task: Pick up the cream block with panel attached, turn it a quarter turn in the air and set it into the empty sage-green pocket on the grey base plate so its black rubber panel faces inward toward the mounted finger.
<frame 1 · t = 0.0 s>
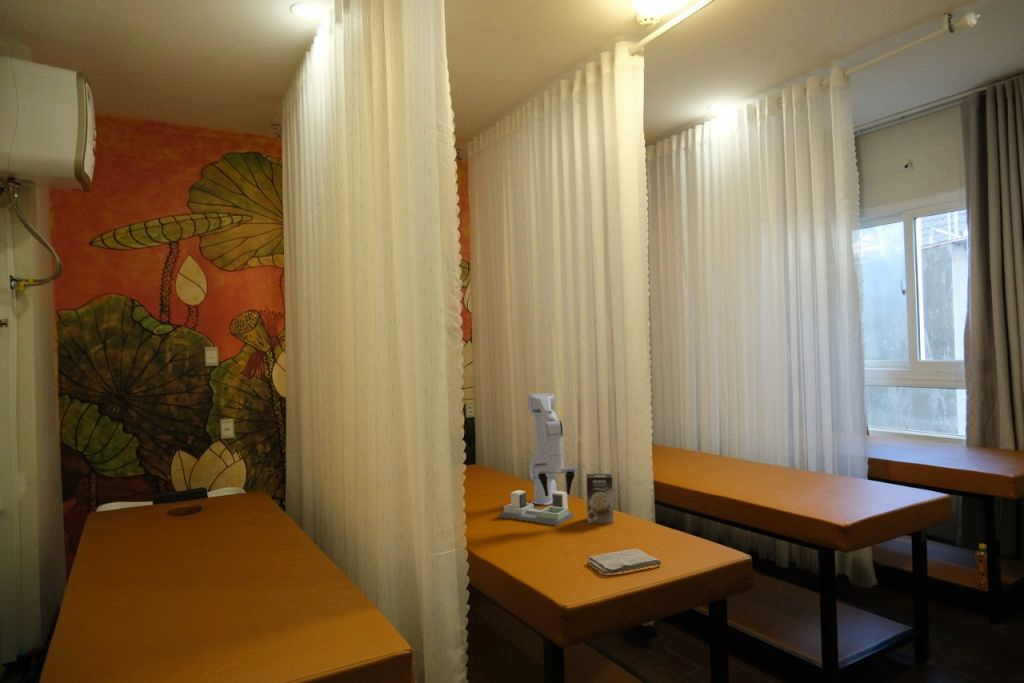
hand: (557, 495, 213), 11 cm above the table, tool pointing down, fingers open, 7 cm apart
grey base plate: (536, 517, 224), on the table
coffee box: (600, 521, 216), on the table
cream block with panel: (560, 510, 231), on the table
washcloth: (622, 567, 173), on the table
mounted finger: (518, 510, 228), resting on grey base plate
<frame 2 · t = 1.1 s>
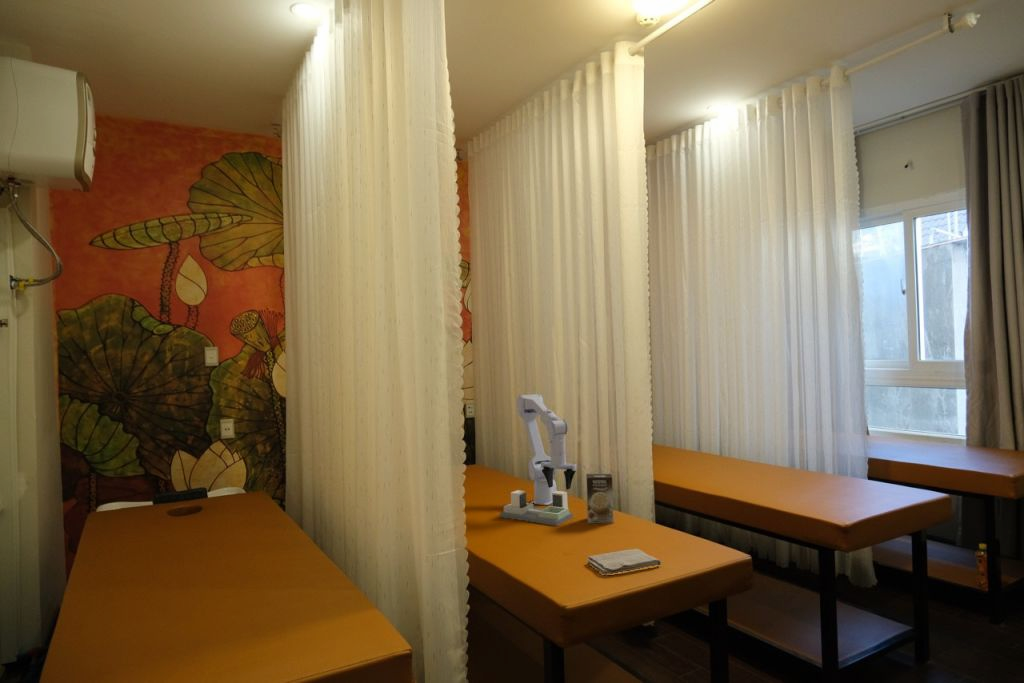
hand: (559, 488, 231), 9 cm above the table, tool pointing down, fingers open, 7 cm apart
nothing on the table moved.
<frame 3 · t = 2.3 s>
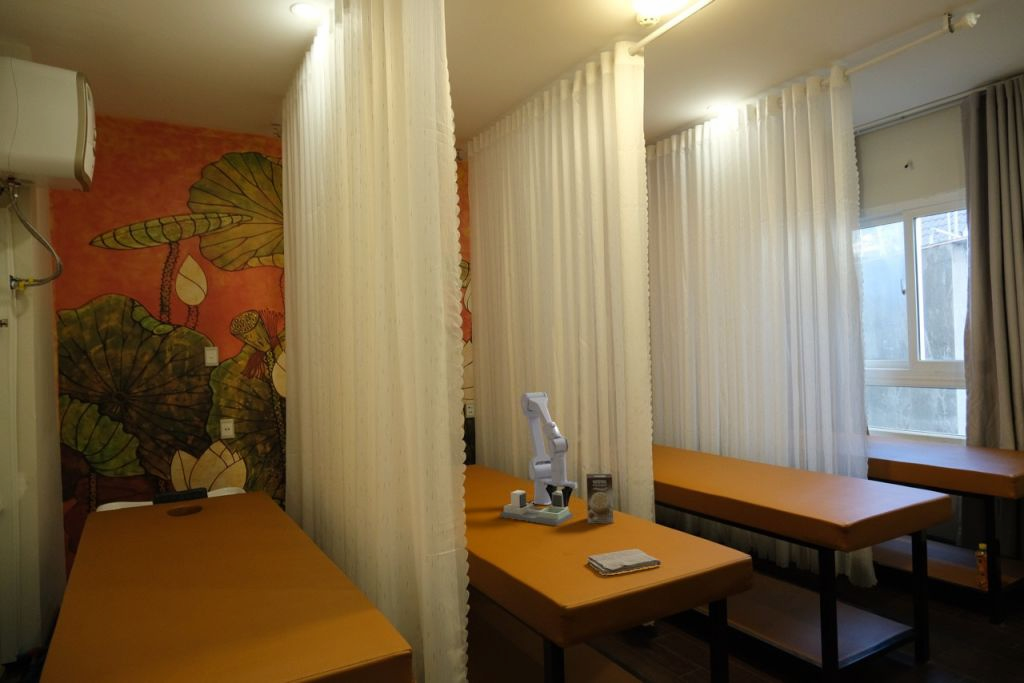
hand: (560, 505, 231), 2 cm above the table, tool pointing down, fingers closed on cream block with panel, 4 cm apart
cream block with panel: (560, 510, 231), on the table, touching gripper
everything else where it was.
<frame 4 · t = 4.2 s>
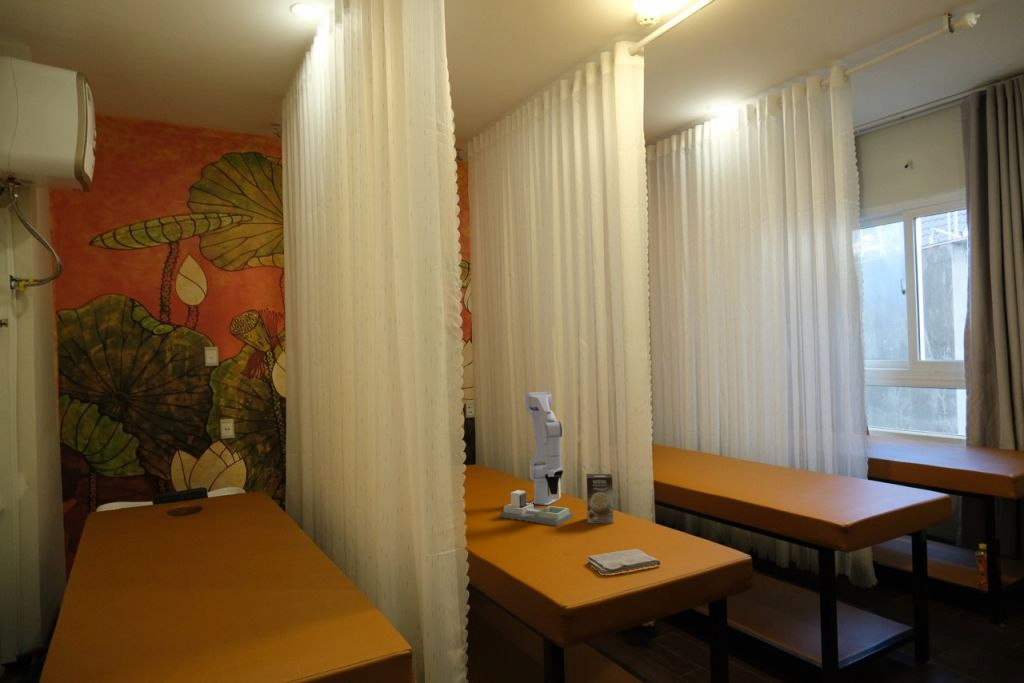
hand: (554, 492, 223), 9 cm above the table, tool pointing down, fingers closed on cream block with panel, 4 cm apart
cream block with panel: (555, 497, 223), point 7 cm above the table, touching gripper
everything else where it was.
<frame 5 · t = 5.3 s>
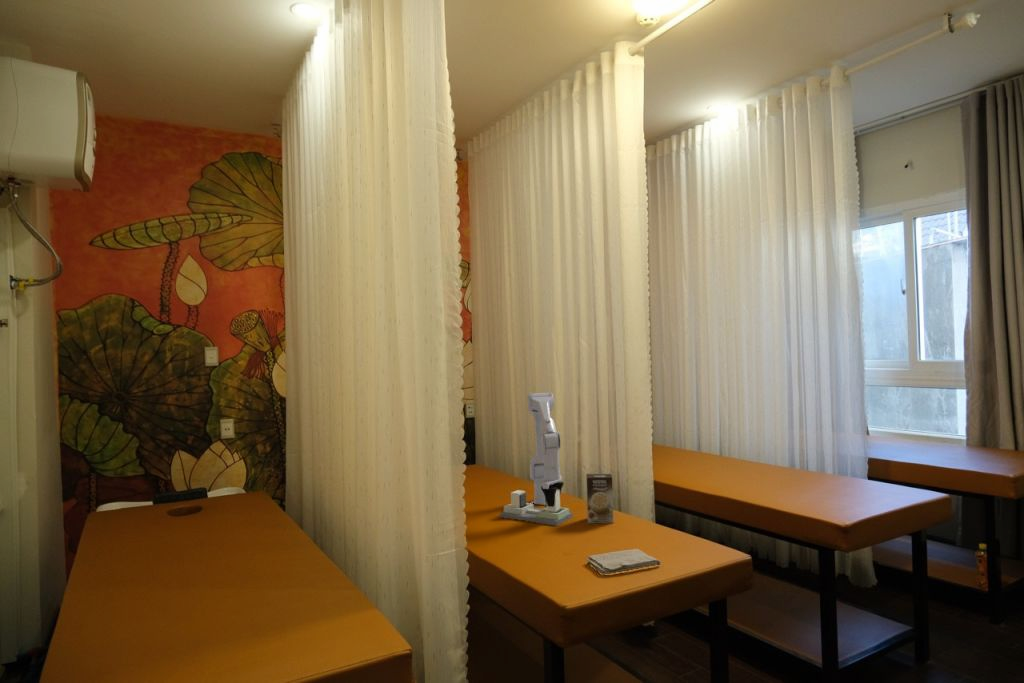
hand: (553, 504, 220), 5 cm above the table, tool pointing down, fingers closed on cream block with panel, 4 cm apart
cream block with panel: (553, 509, 220), point 4 cm above the table, touching gripper
everything else where it was.
when the fingers open (4 cm above the table, at t = 6.0 s): cream block with panel stays where it is, resting on grey base plate.
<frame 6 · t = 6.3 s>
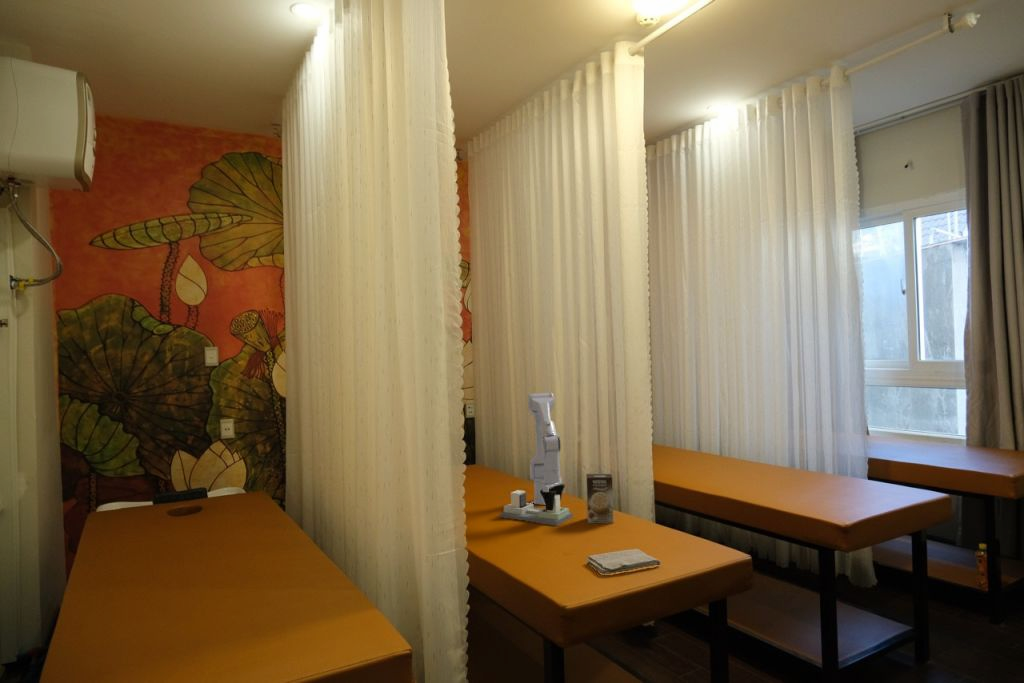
hand: (553, 507, 220), 4 cm above the table, tool pointing down, fingers open, 7 cm apart
cream block with panel: (553, 515, 220), point 1 cm above the table, touching grey base plate
everything else where it was.
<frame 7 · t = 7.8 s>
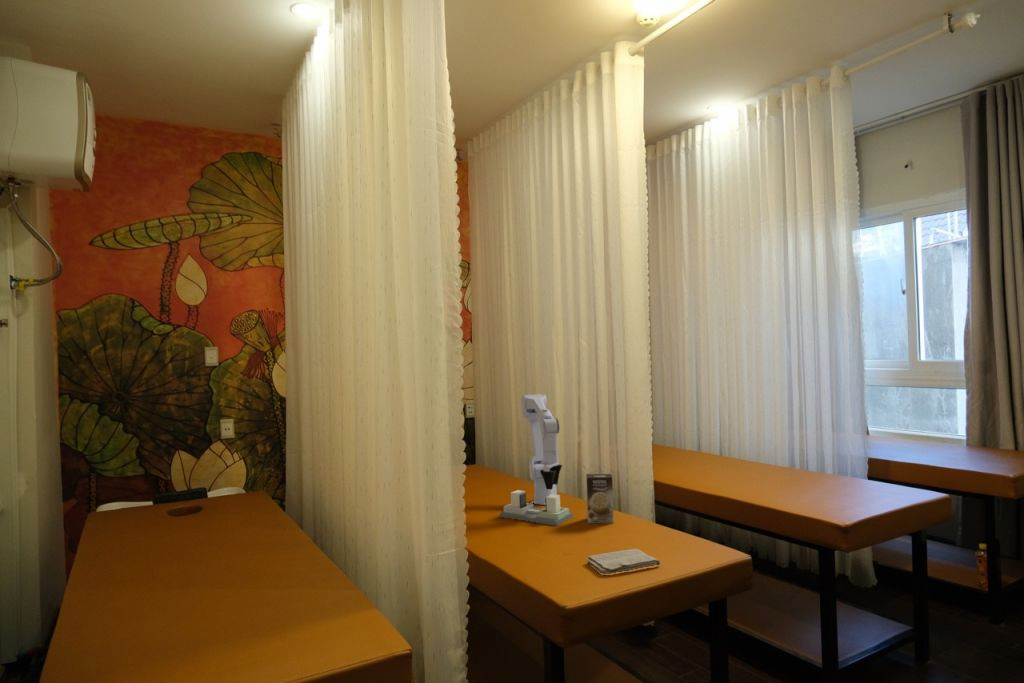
hand: (552, 486, 230), 9 cm above the table, tool pointing down, fingers open, 7 cm apart
nothing on the table moved.
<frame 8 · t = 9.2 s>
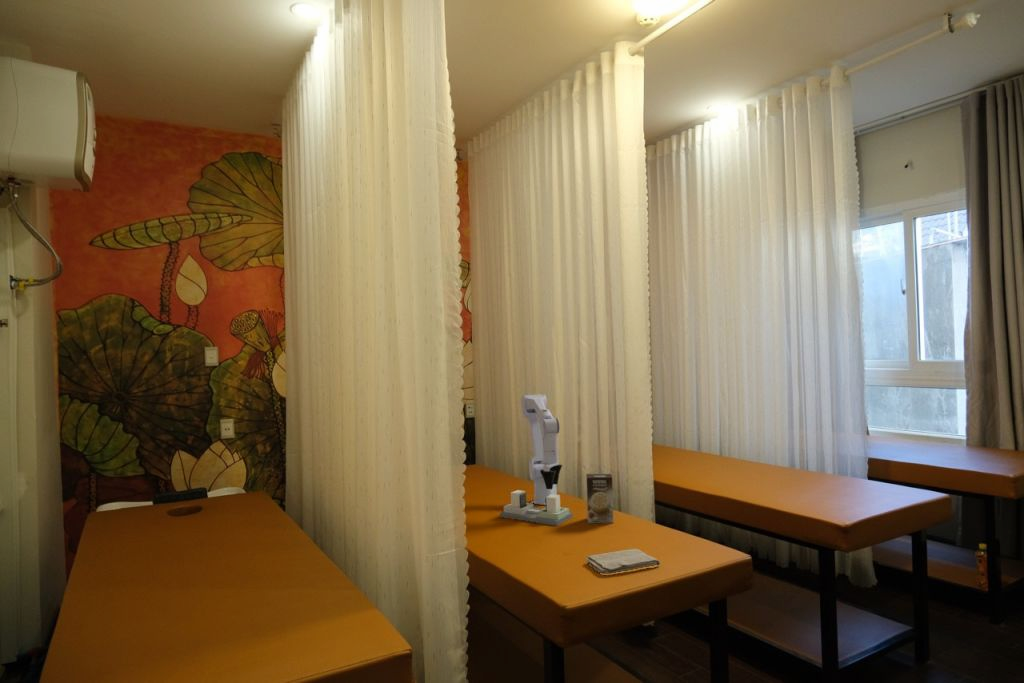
hand: (552, 486, 230), 9 cm above the table, tool pointing down, fingers open, 7 cm apart
nothing on the table moved.
at the end: cream block with panel 0.0 cm from the target spot on the grey base plate, point 1.5 cm above the grey base plate's base; cream block with panel tilted 0°; the gripper is holding nothing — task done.
